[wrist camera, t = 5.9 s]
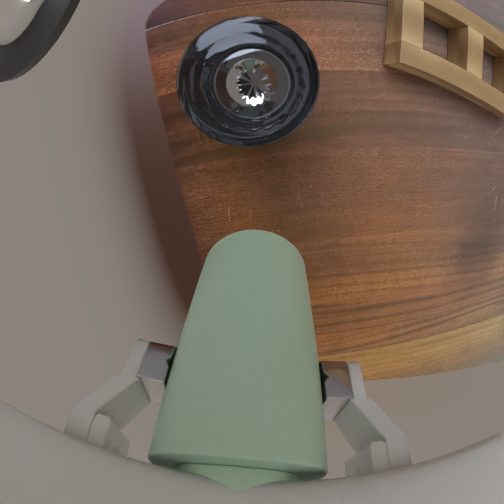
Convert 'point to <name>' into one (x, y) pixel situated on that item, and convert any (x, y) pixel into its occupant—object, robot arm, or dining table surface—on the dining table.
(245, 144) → the wine glass
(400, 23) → the hollow wooden block
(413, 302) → the dining table surface
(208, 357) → the bottle
